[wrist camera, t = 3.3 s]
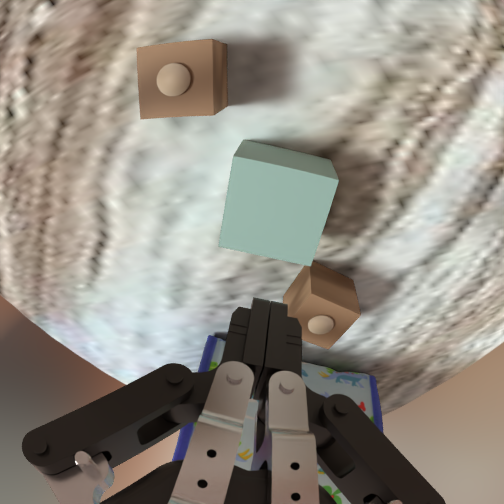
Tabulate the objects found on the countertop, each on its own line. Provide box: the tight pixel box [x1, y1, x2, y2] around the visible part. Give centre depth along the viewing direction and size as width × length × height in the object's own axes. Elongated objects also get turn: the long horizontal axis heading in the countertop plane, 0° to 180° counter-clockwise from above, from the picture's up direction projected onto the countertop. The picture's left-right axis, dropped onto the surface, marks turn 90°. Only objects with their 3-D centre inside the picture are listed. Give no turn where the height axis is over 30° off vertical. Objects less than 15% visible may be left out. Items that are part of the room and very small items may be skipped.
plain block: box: [218, 140, 339, 266], centre depth 24 cm, size 7×7×5 cm
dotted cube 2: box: [137, 39, 228, 119], centre depth 20 cm, size 5×5×5 cm
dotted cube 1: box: [283, 261, 361, 349], centre depth 29 cm, size 5×5×5 cm
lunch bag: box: [172, 335, 383, 504], centre depth 29 cm, size 22×17×26 cm
